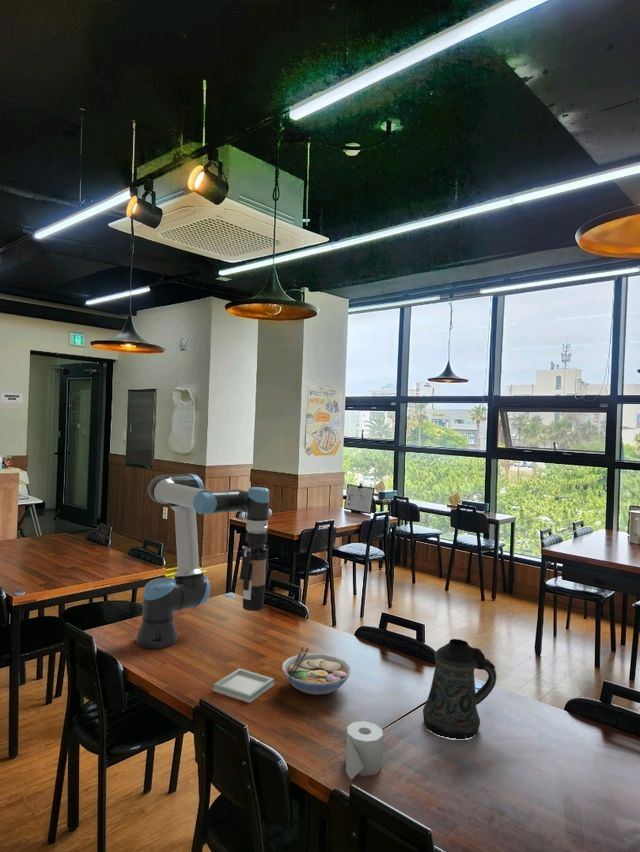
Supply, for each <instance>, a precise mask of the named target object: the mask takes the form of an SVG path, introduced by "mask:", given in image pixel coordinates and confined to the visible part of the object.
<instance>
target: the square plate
mask: <svg viewBox="0 0 640 852" xmlns="http://www.w3.org/2000/svg"><path fill="white" fill-rule="evenodd" d="M274 685H275V678H273V677H270V676H267V675H263V674H260V673H256V672H252V671H250V670H246V669H244V668H238V669H236V670H233V672H231V673H229V674H228V675H226V676H225V677H223V678H221V679H220V680H218V681H217V682H215V683H213V692H215V693H218V694H221V695H224V696H227V697H230V698H232V699H237V700H239V701H241V702H246V703H248V704H251V703H252V702H253V701H254V700H256V699H258V698H259V697H260V696H262V695H263V694H264V693H266V692H267V691H269V690H270V689H271V688H272V687H274Z"/></svg>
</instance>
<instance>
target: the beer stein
mask: <svg viewBox="0 0 640 852" xmlns="http://www.w3.org/2000/svg"><path fill="white" fill-rule="evenodd" d="M434 660H435V668H434V672H433V676H432V682H431V685H430V690H429V693H428V696H427V700H426V702H425V703H424V706H423V709H422V714H423V715H422V716H423V724H424V726H426V727H425V729H426V728H427V729H428V730H430V731H432V732H433V733H435V734H437V735H440V736H444V737H449V738H456V739H465V738H470V737H473V736H474V735H476V734H477V735H478V733H479V729H480V726H481V719H480V716H479V713H478V708H477V705H479V704H480V703H482V702H483V701H484V700H485V699H486V698H487V697H488V696H489V695H490V694H491V693H492V691H493V690H494V688H495V685H496V682H497V672H496V666H495V664H493V662H491V660H489V659H488V658H486V657H485V654H484V652H483V651H482V649H480V648H477V647H472V646H471V645H469V642H467V641H466V640H463V639H459V638H452V639H450V640H449V641H448V643H446V644H445V645H442V646H441V647H440V648H438V649H437V650H436V651H435V652H434ZM475 669H476V670H479V671H481V670H482V671H483V670H484V672H486V673H487V675H488V677H487V679H486V681H485V682H484V684H483V685H482V687H480V688H479V689H478V690H477V691H476V683H475V682H476V681H475ZM427 729H426V730H427ZM428 730H427V731H428ZM430 731H429V732H430ZM477 732H478V733H477ZM433 733H432V734H433Z"/></svg>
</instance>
